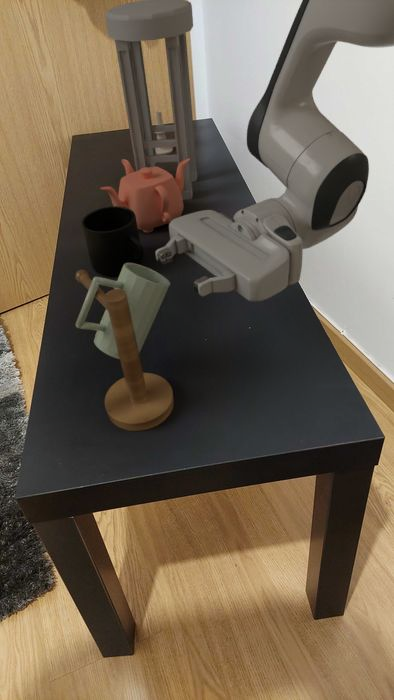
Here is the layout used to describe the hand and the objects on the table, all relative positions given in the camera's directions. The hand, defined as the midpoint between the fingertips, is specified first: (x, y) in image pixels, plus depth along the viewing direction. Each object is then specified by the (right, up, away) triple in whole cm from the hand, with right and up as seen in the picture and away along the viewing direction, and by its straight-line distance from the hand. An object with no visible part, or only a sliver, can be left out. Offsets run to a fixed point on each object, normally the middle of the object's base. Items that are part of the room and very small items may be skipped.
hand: (176, 273), depth 66 cm
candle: (-6, +42, +67) cm, 79 cm away
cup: (-9, -10, 0) cm, 14 cm away
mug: (-11, +5, +27) cm, 30 cm away
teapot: (-7, +17, +40) cm, 44 cm away
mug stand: (-7, -16, +4) cm, 17 cm away
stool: (-4, +27, +50) cm, 57 cm away
